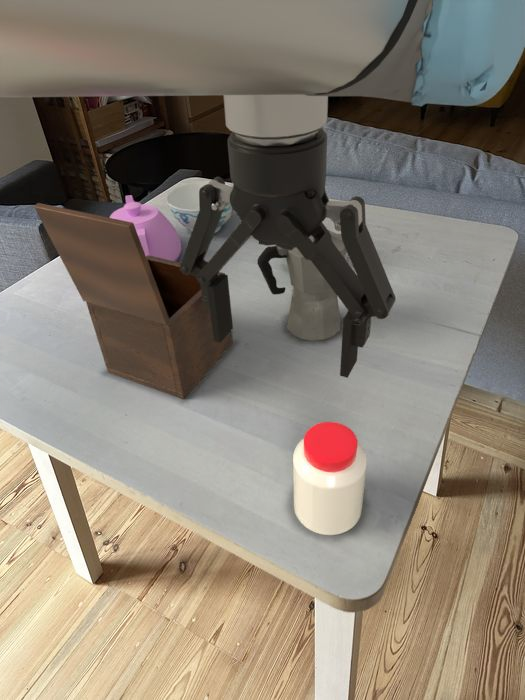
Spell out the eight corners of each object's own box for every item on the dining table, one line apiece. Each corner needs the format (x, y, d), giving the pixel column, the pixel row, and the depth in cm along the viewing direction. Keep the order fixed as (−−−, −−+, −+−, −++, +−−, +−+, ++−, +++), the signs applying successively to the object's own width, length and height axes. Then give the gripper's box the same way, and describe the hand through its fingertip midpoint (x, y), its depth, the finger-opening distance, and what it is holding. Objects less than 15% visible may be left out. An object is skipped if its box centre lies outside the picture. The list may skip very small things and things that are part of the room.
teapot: (192, 279, 101) (183, 220, 94) (109, 296, 98) (93, 237, 91) (173, 230, 118) (163, 177, 110) (101, 243, 115) (86, 189, 107)
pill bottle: (372, 494, 62) (380, 429, 55) (344, 547, 57) (350, 483, 50) (312, 468, 66) (313, 404, 59) (281, 516, 61) (278, 453, 54)
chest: (162, 322, 91) (147, 254, 83) (233, 343, 86) (225, 273, 77) (107, 372, 82) (85, 301, 73) (183, 399, 76) (169, 326, 68)
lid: (38, 202, 62) (33, 206, 62) (133, 222, 57) (129, 226, 56) (86, 297, 73) (83, 300, 73) (170, 321, 68) (166, 325, 67)
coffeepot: (340, 302, 93) (345, 204, 82) (362, 333, 86) (371, 230, 75) (254, 319, 90) (247, 220, 79) (270, 353, 83) (265, 249, 72)
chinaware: (240, 211, 123) (238, 179, 119) (239, 242, 112) (236, 207, 107) (176, 215, 124) (170, 182, 119) (167, 246, 112) (161, 211, 107)
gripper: (458, 129, 38) (418, 359, 51) (166, 104, 47) (196, 304, 60) (435, 165, 33) (397, 411, 46) (112, 129, 42) (158, 342, 55)
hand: (283, 351), depth 53 cm, fingers open, 13 cm apart
